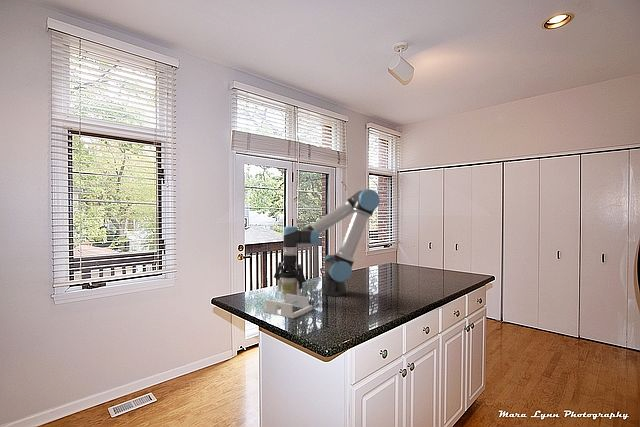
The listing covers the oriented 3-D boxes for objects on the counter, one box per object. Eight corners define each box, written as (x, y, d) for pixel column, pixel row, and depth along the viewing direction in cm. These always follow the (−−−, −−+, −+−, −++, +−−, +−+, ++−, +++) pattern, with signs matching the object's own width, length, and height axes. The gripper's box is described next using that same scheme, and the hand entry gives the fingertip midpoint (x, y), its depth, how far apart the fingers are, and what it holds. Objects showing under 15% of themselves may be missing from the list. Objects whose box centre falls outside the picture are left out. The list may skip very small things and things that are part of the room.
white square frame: (285, 303, 180) (285, 292, 180) (313, 309, 171) (313, 297, 171) (264, 311, 166) (264, 299, 165) (293, 318, 156) (293, 305, 156)
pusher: (286, 304, 178) (286, 293, 178) (308, 308, 171) (309, 297, 171) (267, 311, 165) (267, 299, 165) (291, 316, 158) (291, 304, 158)
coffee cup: (278, 298, 190) (278, 271, 190) (295, 297, 194) (295, 270, 194) (282, 303, 181) (283, 275, 181) (300, 301, 185) (300, 274, 184)
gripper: (268, 253, 190) (267, 290, 191) (304, 257, 177) (303, 298, 178) (276, 251, 197) (275, 288, 197) (312, 255, 184) (311, 295, 184)
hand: (289, 293), depth 187 cm, fingers open, 13 cm apart
